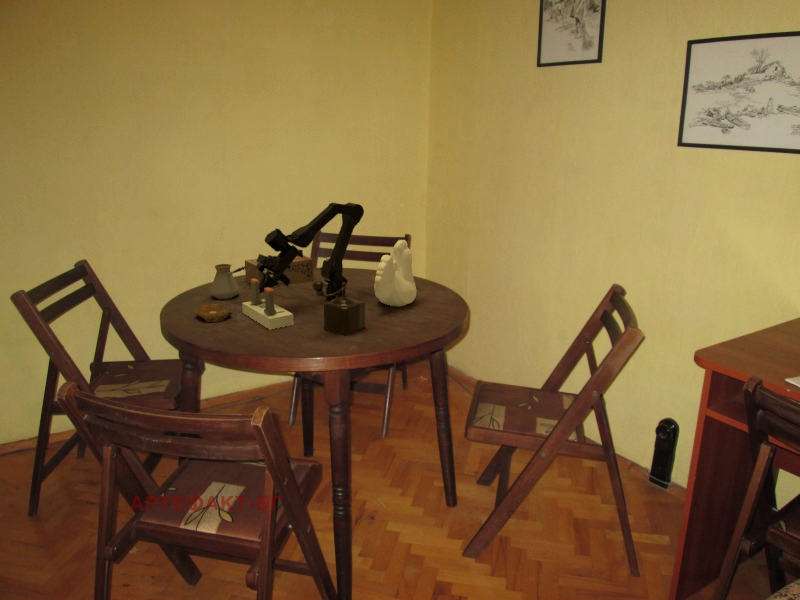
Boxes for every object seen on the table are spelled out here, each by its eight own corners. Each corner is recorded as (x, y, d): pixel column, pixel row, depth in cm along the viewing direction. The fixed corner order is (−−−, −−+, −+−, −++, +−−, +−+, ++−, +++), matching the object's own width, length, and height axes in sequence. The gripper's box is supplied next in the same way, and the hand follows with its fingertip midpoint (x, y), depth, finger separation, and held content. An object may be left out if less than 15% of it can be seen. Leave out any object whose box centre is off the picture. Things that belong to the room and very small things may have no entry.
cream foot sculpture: (393, 294, 250) (394, 234, 242) (425, 301, 241) (426, 239, 233) (353, 309, 231) (352, 244, 223) (385, 317, 221) (385, 250, 214)
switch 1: (258, 300, 225) (256, 278, 222) (262, 303, 222) (260, 280, 219) (250, 302, 223) (248, 279, 221) (254, 304, 220) (253, 281, 218)
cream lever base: (265, 308, 230) (264, 297, 229) (293, 324, 213) (293, 313, 212) (242, 313, 225) (242, 302, 224) (269, 330, 208) (269, 318, 206)
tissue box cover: (299, 274, 282) (298, 253, 279) (313, 280, 271) (313, 259, 268) (246, 282, 268) (244, 260, 265) (259, 289, 256) (257, 266, 253)
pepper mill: (342, 321, 217) (341, 272, 212) (366, 327, 211) (365, 277, 205) (311, 333, 205) (309, 281, 200) (335, 340, 199) (334, 287, 194)
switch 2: (271, 310, 213) (270, 286, 211) (276, 313, 211) (275, 289, 208) (263, 312, 212) (262, 288, 209) (268, 315, 209) (267, 290, 206)
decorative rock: (188, 317, 223) (208, 328, 213) (186, 306, 221) (207, 317, 211) (216, 308, 230) (237, 319, 220) (215, 298, 229) (236, 308, 219)
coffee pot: (204, 297, 245) (201, 260, 240) (228, 291, 253) (226, 255, 249) (237, 307, 232) (234, 269, 228) (261, 300, 240) (259, 263, 236)
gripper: (258, 241, 227) (232, 274, 224) (281, 250, 213) (253, 285, 210) (278, 259, 234) (253, 291, 231) (302, 269, 220) (275, 303, 217)
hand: (258, 292), depth 222 cm, fingers closed, pressing on switch 1
